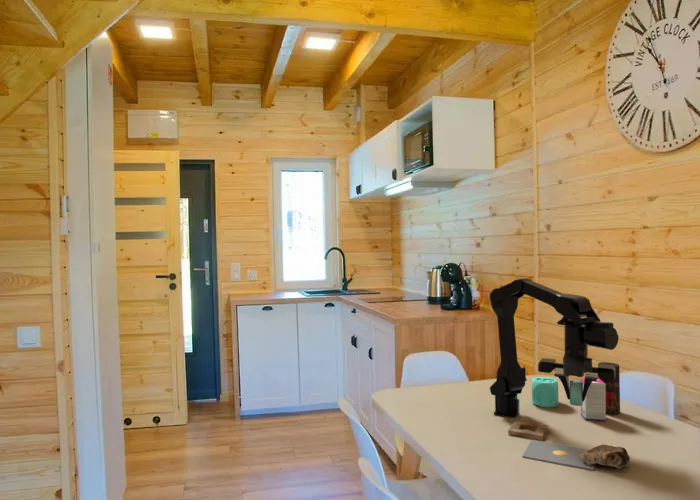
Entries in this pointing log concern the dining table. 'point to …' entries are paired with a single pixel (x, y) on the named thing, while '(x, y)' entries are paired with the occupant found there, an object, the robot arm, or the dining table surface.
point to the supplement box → (594, 402)
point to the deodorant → (612, 392)
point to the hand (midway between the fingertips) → (576, 400)
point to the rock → (606, 456)
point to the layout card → (557, 454)
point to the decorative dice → (545, 392)
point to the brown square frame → (517, 431)
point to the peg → (576, 393)
